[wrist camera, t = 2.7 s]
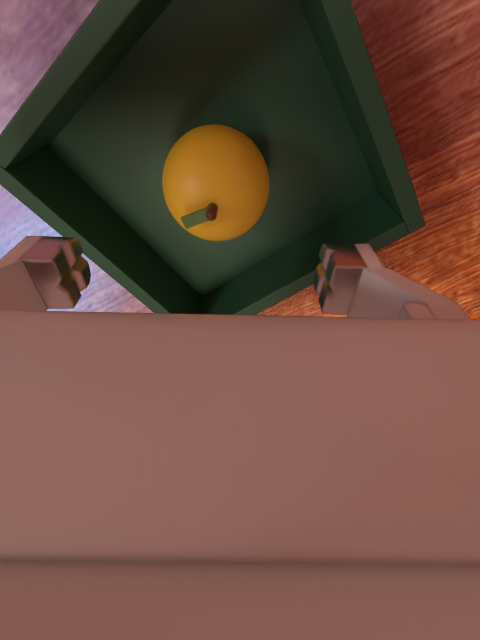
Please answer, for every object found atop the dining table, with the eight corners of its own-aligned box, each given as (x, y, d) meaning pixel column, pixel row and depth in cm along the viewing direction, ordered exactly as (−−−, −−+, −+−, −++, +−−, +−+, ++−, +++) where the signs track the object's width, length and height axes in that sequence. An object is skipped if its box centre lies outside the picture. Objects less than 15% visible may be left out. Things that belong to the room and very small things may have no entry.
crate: (263, -146, 12) (273, -236, 8) (391, 190, 21) (426, 225, 17) (32, 139, 19) (-24, 165, 15) (201, 302, 27) (194, 346, 23)
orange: (247, 95, 17) (249, 120, 11) (277, 197, 20) (289, 250, 15) (154, 139, 18) (118, 178, 13) (198, 226, 22) (184, 284, 16)
